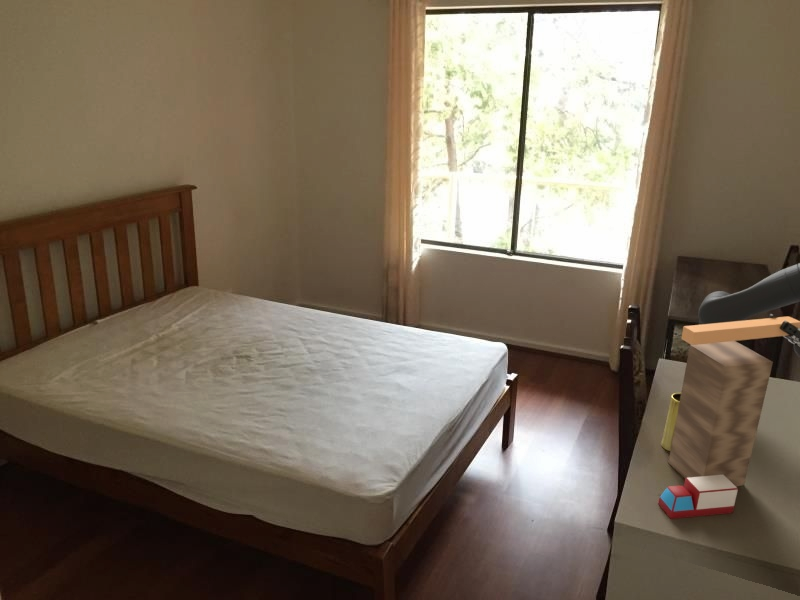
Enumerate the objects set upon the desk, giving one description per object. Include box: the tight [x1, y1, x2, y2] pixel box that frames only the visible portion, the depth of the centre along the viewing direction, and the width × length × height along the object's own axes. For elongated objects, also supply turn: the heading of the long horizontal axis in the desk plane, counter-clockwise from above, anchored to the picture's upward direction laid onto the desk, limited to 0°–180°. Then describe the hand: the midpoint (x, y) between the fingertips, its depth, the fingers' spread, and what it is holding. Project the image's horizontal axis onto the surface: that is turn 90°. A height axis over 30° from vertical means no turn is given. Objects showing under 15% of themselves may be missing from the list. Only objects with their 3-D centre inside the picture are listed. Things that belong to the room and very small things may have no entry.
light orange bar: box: [681, 316, 800, 345], centre depth 147 cm, size 28×4×3 cm, turn 105°
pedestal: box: [668, 341, 774, 487], centre depth 154 cm, size 12×12×32 cm
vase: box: [660, 392, 681, 452], centre depth 168 cm, size 6×6×14 cm
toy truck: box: [658, 475, 739, 520], centre depth 146 cm, size 6×15×7 cm, turn 99°
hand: (776, 321), depth 148 cm, fingers closed on light orange bar, 3 cm apart
